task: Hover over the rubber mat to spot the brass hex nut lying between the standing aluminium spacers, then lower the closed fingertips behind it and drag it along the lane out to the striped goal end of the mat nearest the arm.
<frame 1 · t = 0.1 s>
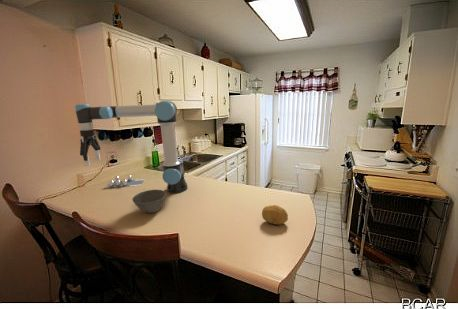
hand: (93, 162, 139), 28 cm above the counter, fingers open, 13 cm apart
potato: (274, 222, 113), on the counter
mat: (126, 184, 177), on the counter
bowl: (151, 211, 131), on the counter
spacers: (121, 185, 177), resting on mat
nut: (121, 183, 176), point 1 cm above the counter, touching mat
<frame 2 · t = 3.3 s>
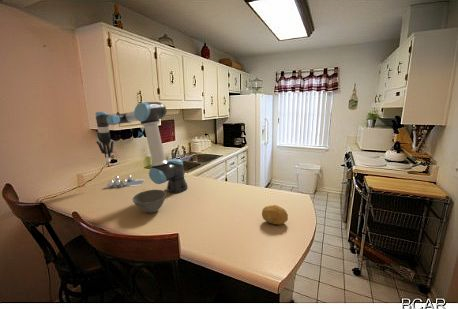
hand: (108, 161, 172), 20 cm above the counter, fingers closed
nothing on the counter moved.
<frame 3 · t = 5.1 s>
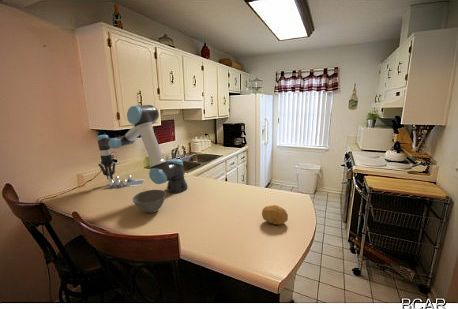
hand: (110, 183, 175), 2 cm above the counter, fingers closed
nothing on the counter moved.
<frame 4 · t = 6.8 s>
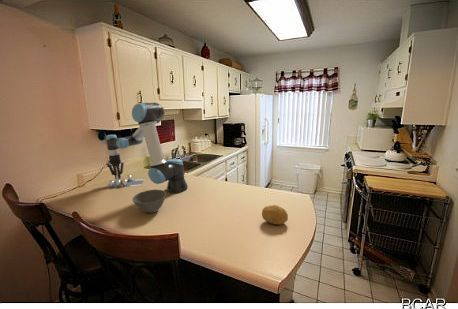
hand: (118, 182, 176), 2 cm above the counter, fingers closed
nut: (123, 183, 176), point 1 cm above the counter, touching gripper
everything else where it was.
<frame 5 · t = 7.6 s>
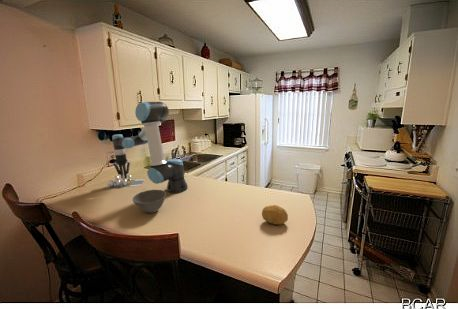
hand: (124, 182, 176), 2 cm above the counter, fingers closed
nut: (128, 183, 176), point 1 cm above the counter, touching gripper, mat
everything else where it was.
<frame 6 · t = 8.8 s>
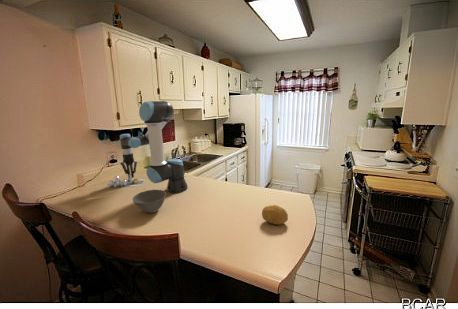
hand: (131, 181, 177), 2 cm above the counter, fingers closed
nut: (135, 182, 177), point 1 cm above the counter, touching gripper
everything else where it was.
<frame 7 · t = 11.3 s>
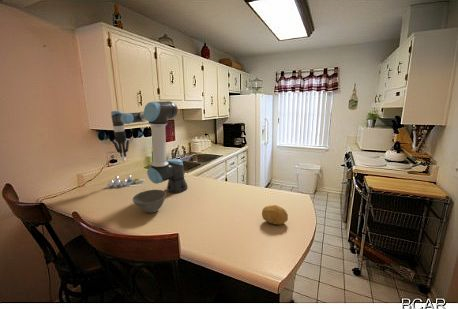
hand: (124, 160, 172), 20 cm above the counter, fingers closed
nut: (136, 182, 177), point 1 cm above the counter, touching mat
everything else where it was.
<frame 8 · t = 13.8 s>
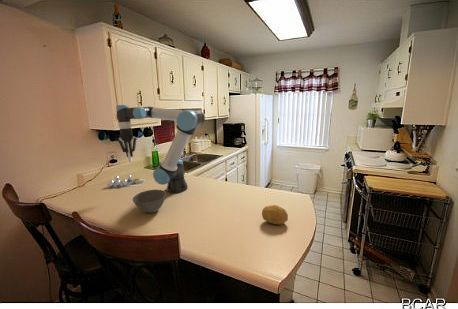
hand: (130, 161, 153), 24 cm above the counter, fingers closed
nothing on the counter moved.
at the end: nut inside the target area (0.5 cm from its centre), point 1.0 cm above the counter; nut moved 12.3 cm from its start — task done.
